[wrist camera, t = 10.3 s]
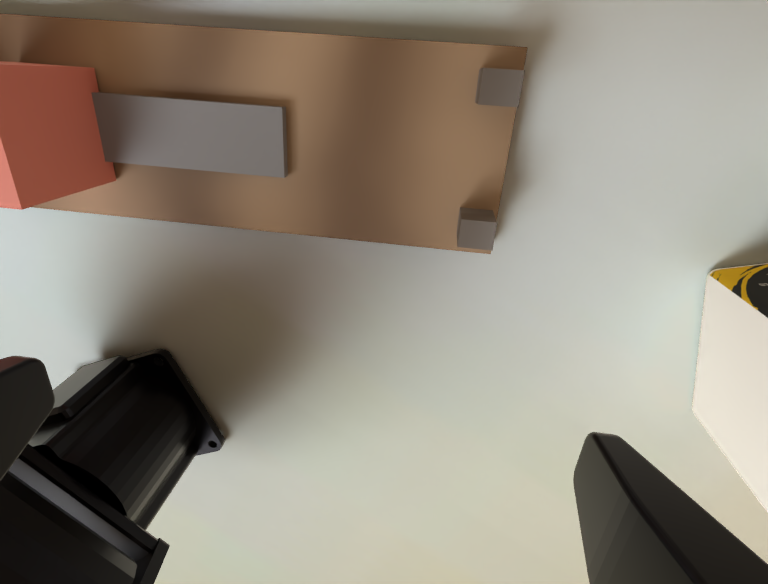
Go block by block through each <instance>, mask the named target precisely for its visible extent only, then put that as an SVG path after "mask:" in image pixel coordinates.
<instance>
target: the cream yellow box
mask: <svg viewBox="0 0 768 584" xmlns="http://www.w3.org/2000/svg"><path fill="white" fill-rule="evenodd" d="M692 410H693V413H694V415H695V416H696V417H697V419H698V420H699V422H700V423H701V424H702V426H703V427H704V428H705V430H706V431H707V432H708V434H709V435H710V436H711V438H712V439H713V440H714V442H715V443H716V444H717V446H718V447H719V448H720V450H721V451H722V452H723V454H724V455H725V456H726V458H727V459H728V460H729V462H730V463H731V464H732V466H733V467H734V468H735V470H736V471H737V472H738V474H739V475H740V476H741V478H742V479H743V480H744V482H745V483H746V484H747V486H748V487H749V488H750V490H751V491H752V492H753V494H754V495H755V496H756V498H757V499H758V500H759V502H760V503H761V504H762V506H763V507H764V509H765V510H766V511H767V513H768V263H763V264H754V265H746V266H737V267H728V268H720V269H715V270H712V271H711V272H709V273H708V275H707V277H706V285H705V294H704V303H703V312H702V321H701V330H700V339H699V348H698V356H697V365H696V374H695V383H694V392H693V401H692Z"/></svg>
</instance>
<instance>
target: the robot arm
mask: <svg viewBox="0 0 768 584" xmlns="http://www.w3.org/2000/svg"><path fill="white" fill-rule="evenodd" d="M159 358H160V359H162V360H163V361H161V360H160V359H159ZM224 442H225V439H224V437H223V435H222V434H221V432H220V431H219V429H218V428H217V426H216V424H215V423H214V421H213V420H212V418H211V417H210V415H209V414H208V412H207V410H206V409H205V407H204V406H203V404H202V403H201V401H200V399H199V398H198V396H197V395H196V393H195V392H194V390H193V388H192V387H191V385H190V384H189V382H188V381H187V379H186V377H185V376H184V374H183V373H182V371H181V370H180V368H179V366H178V365H177V363H176V362H175V360H174V359H173V357H172V355H171V354H170V353H169V352H168V351H166V350H164V349H157V350H153V351H150V352H146V353H143V354H139V355H136V356H132V357H129V358H126V357H125V356H116V357H113V358H109V359H106V360H102V361H99V362H96V363H92V364H89V365H85V366H83V367H81V368H80V369H79V370H78V371H76V372H75V373H74V374H72V375H71V376H70V377H69V378H67V379H66V380H65V381H64V382H62V383H61V384H60V385H59V386H57V387H56V388H55V389H54V390H52V387H51V383H50V380H49V377H48V374H47V371H46V368H45V366H44V364H43V363H42V362H41V361H40V360H38V359H36V358H30V357H22V356H11V357H7V358H3V359H0V584H154V582H155V579H156V577H157V575H158V572H159V570H160V568H161V565H162V563H163V560H164V558H165V556H166V553H167V551H168V549H169V546H170V545H169V544H167V543H166V542H165V541H163V540H162V539H161V538H159V539H156V538H155V537H154V536H152V535H151V534H150V533H148V532H147V531H146V529H147V528H148V526H149V525H150V523H151V522H152V520H153V519H154V517H155V516H156V514H157V513H158V511H159V510H160V508H161V507H162V505H163V504H164V502H165V500H166V499H167V497H168V496H169V494H170V493H171V491H172V490H173V488H174V487H175V485H176V484H177V482H178V481H179V479H180V478H181V476H182V475H183V473H184V472H185V470H186V469H187V467H188V466H189V464H190V463H191V461H192V460H193V458H194V457H195V456H196V455H201V454H206V453H210V452H215V451H218V450H220V449H221V447H222V446H223V444H224ZM574 490H575V496H576V503H577V509H578V515H579V521H580V528H581V534H582V540H583V547H584V553H585V559H586V565H587V572H588V577H589V582H590V584H768V564H767V563H766V562H765V561H763V560H762V559H761V558H760V557H759V556H758V555H756V554H755V553H754V552H753V551H752V550H751V549H750V548H748V547H747V546H746V545H745V544H744V543H743V542H741V541H740V540H739V539H738V538H737V537H736V536H734V535H733V534H732V533H731V532H730V531H729V530H728V529H726V528H725V527H724V526H723V525H722V524H721V523H719V522H718V521H717V520H716V519H715V518H714V517H712V516H711V515H710V514H709V513H708V512H707V511H706V510H704V509H703V508H702V507H701V506H700V505H699V504H697V503H696V502H695V501H694V500H693V499H692V498H690V497H689V496H688V495H687V494H686V493H685V492H683V491H682V490H681V489H680V488H679V487H678V486H677V485H675V484H674V483H673V482H672V481H671V480H670V479H668V478H667V477H666V476H665V475H664V474H663V473H661V472H660V471H659V470H658V469H657V468H656V467H655V466H653V465H652V464H651V463H650V462H649V461H648V460H646V459H645V458H644V457H643V456H642V455H641V454H639V453H638V452H637V451H636V450H635V449H634V448H633V447H631V446H630V445H629V444H628V443H627V442H626V441H624V440H623V439H622V438H621V437H619V436H617V435H613V434H605V433H597V432H592V433H590V434H588V436H587V437H586V439H585V441H584V444H583V447H582V450H581V453H580V456H579V459H578V462H577V465H576V467H575V471H574Z"/></svg>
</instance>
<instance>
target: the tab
mask: <svg viewBox="0 0 768 584" xmlns="http://www.w3.org/2000/svg"><path fill="white" fill-rule="evenodd" d="M113 162H116V163H127V164H138V165H149V166H159V167H170V168H181V169H192V170H203V171H214V172H225V173H236V174H247V175H258V176H269V177H280V178H285V177H287V176H288V165H287V132H286V107H282V106H269V105H256V104H243V103H230V102H218V101H205V100H192V99H179V98H166V97H154V96H141V95H128V94H115V93H102V92H99V89H98V84H97V79H96V74H95V69H94V68H91V67H77V66H64V65H50V64H37V63H23V62H4V61H0V207H2V208H12V209H25V208H29V207H32V206H35V205H38V204H42V203H45V202H48V201H51V200H55V199H58V198H61V197H64V196H68V195H71V194H74V193H78V192H81V191H84V190H87V189H91V188H94V187H97V186H100V185H104V184H107V183H110V182H114V181H116V176H115V171H114V166H113Z"/></svg>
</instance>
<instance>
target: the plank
mask: <svg viewBox="0 0 768 584" xmlns="http://www.w3.org/2000/svg"><path fill="white" fill-rule="evenodd" d="M526 53H527V47H515V46H499V45H484V44H468V43H452V42H437V41H421V40H406V39H390V38H374V37H359V36H343V35H327V34H312V33H296V32H280V31H265V30H249V29H233V28H218V27H202V26H187V25H171V24H155V23H140V22H124V21H108V20H93V19H77V18H61V17H46V16H30V15H15V14H0V61H4V62H23V63H37V64H50V65H64V66H77V67H91V68H94V69H95V74H96V79H97V84H98V89H99V92H102V93H115V94H128V95H141V96H154V97H166V98H179V99H192V100H205V101H218V102H230V103H243V104H256V105H269V106H282V107H286V132H287V165H288V176H287V177H285V178H280V177H269V176H258V175H247V174H236V173H225V172H214V171H203V170H192V169H181V168H170V167H159V166H149V165H138V164H127V163H116V162H113V166H114V171H115V176H116V181H114V182H110V183H107V184H104V185H100V186H97V187H94V188H91V189H87V190H84V191H81V192H78V193H74V194H71V195H68V196H64V197H61V198H58V199H55V200H51V201H48V202H45V203H42V204H38V205H35V206H32V207H35V208H45V209H54V210H64V211H74V212H84V213H94V214H103V215H113V216H123V217H133V218H143V219H152V220H162V221H172V222H182V223H192V224H201V225H211V226H221V227H231V228H241V229H250V230H260V231H270V232H280V233H290V234H299V235H309V236H319V237H329V238H339V239H348V240H358V241H368V242H378V243H388V244H398V245H407V246H417V247H427V248H437V249H447V250H456V251H466V252H476V253H486V254H491V251H492V249H493V244H494V238H495V233H496V227H497V221H496V220H497V215H498V209H499V203H500V198H501V192H502V187H503V181H504V176H505V170H506V164H507V159H508V153H509V148H510V142H511V137H512V131H513V125H514V120H515V114H516V109H517V107H518V106H519V100H520V94H521V89H522V83H523V78H524V72H525V70H524V64H525V59H526Z"/></svg>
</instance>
